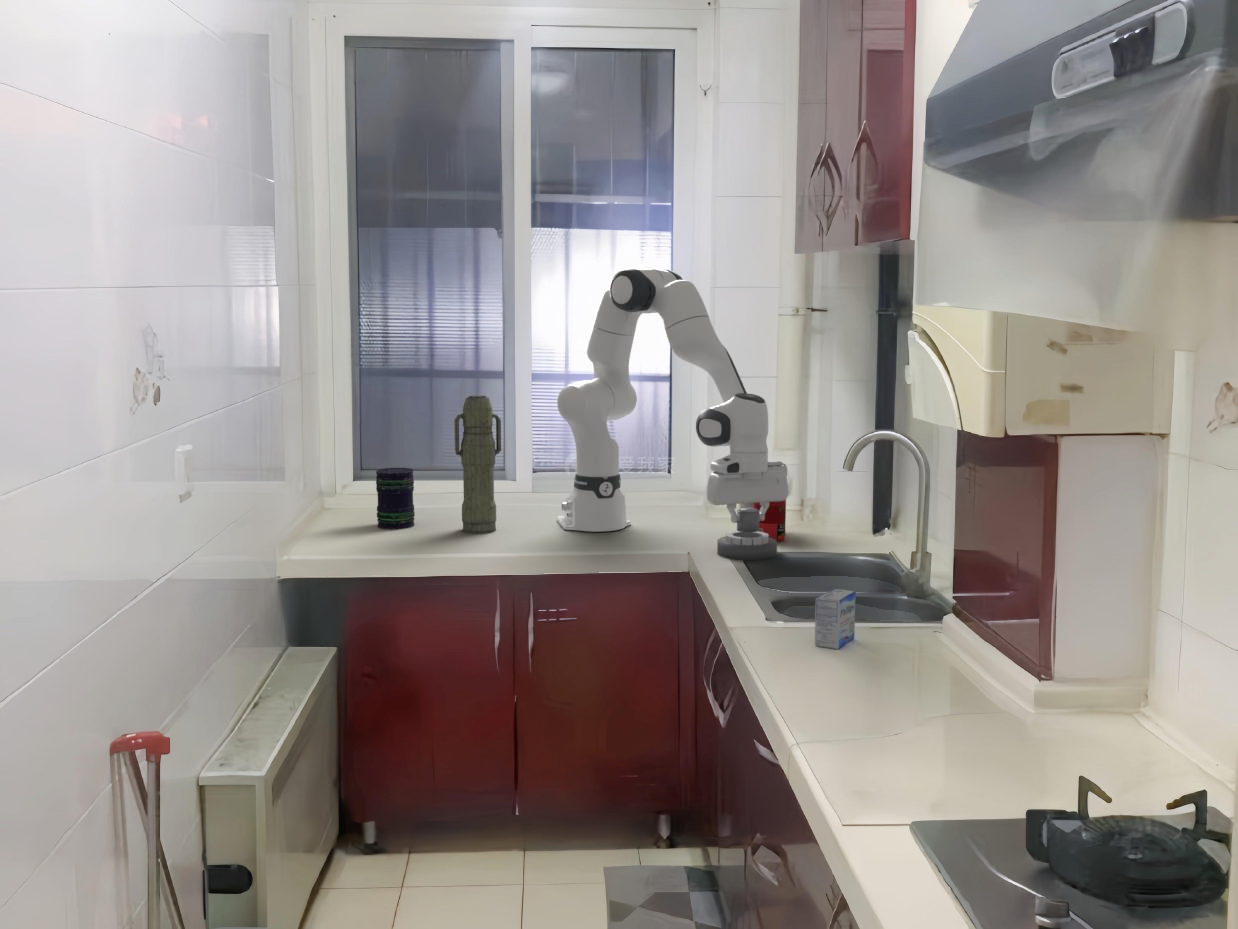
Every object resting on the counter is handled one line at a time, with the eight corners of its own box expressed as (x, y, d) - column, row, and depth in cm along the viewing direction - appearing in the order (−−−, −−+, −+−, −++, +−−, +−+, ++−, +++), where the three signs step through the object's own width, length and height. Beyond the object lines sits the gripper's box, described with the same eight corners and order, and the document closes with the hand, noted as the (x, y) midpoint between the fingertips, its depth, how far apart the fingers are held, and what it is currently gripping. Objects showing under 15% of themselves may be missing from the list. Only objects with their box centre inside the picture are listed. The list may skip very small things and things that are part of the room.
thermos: (506, 531, 292) (505, 396, 288) (462, 535, 288) (460, 398, 283) (496, 525, 300) (494, 394, 296) (453, 528, 296) (450, 395, 291)
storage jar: (422, 525, 301) (421, 469, 299) (396, 531, 293) (395, 474, 291) (395, 521, 306) (393, 466, 304) (369, 526, 298) (367, 471, 296)
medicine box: (838, 650, 191) (839, 600, 190) (813, 646, 194) (815, 597, 193) (854, 639, 198) (856, 591, 197) (830, 635, 200) (832, 587, 199)
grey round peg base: (707, 549, 271) (707, 531, 270) (758, 545, 276) (758, 527, 275) (734, 562, 258) (735, 542, 257) (787, 556, 263) (788, 538, 263)
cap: (732, 529, 267) (733, 508, 267) (752, 527, 269) (752, 506, 269) (743, 532, 263) (743, 511, 262) (763, 531, 265) (763, 510, 264)
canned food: (784, 543, 278) (785, 499, 277) (751, 542, 280) (752, 498, 278) (785, 537, 286) (786, 494, 284) (754, 536, 287) (755, 493, 286)
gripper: (780, 459, 271) (779, 516, 273) (704, 463, 263) (703, 522, 265) (794, 462, 265) (792, 520, 267) (716, 467, 257) (716, 526, 259)
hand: (747, 521), depth 266 cm, fingers closed on cap, 5 cm apart
